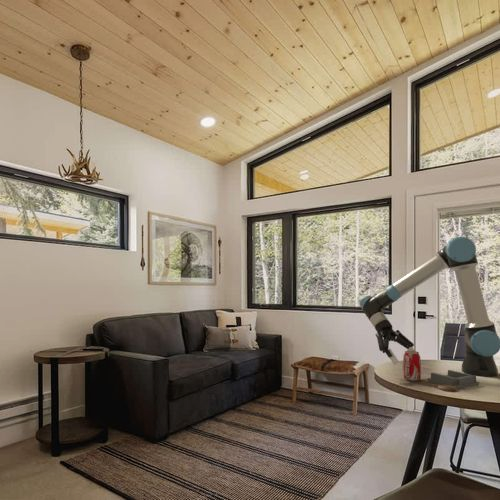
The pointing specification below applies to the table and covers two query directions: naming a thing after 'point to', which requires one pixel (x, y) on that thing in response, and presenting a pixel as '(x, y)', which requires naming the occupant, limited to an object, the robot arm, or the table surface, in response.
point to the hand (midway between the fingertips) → (407, 361)
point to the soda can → (412, 365)
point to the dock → (454, 379)
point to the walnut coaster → (447, 387)
